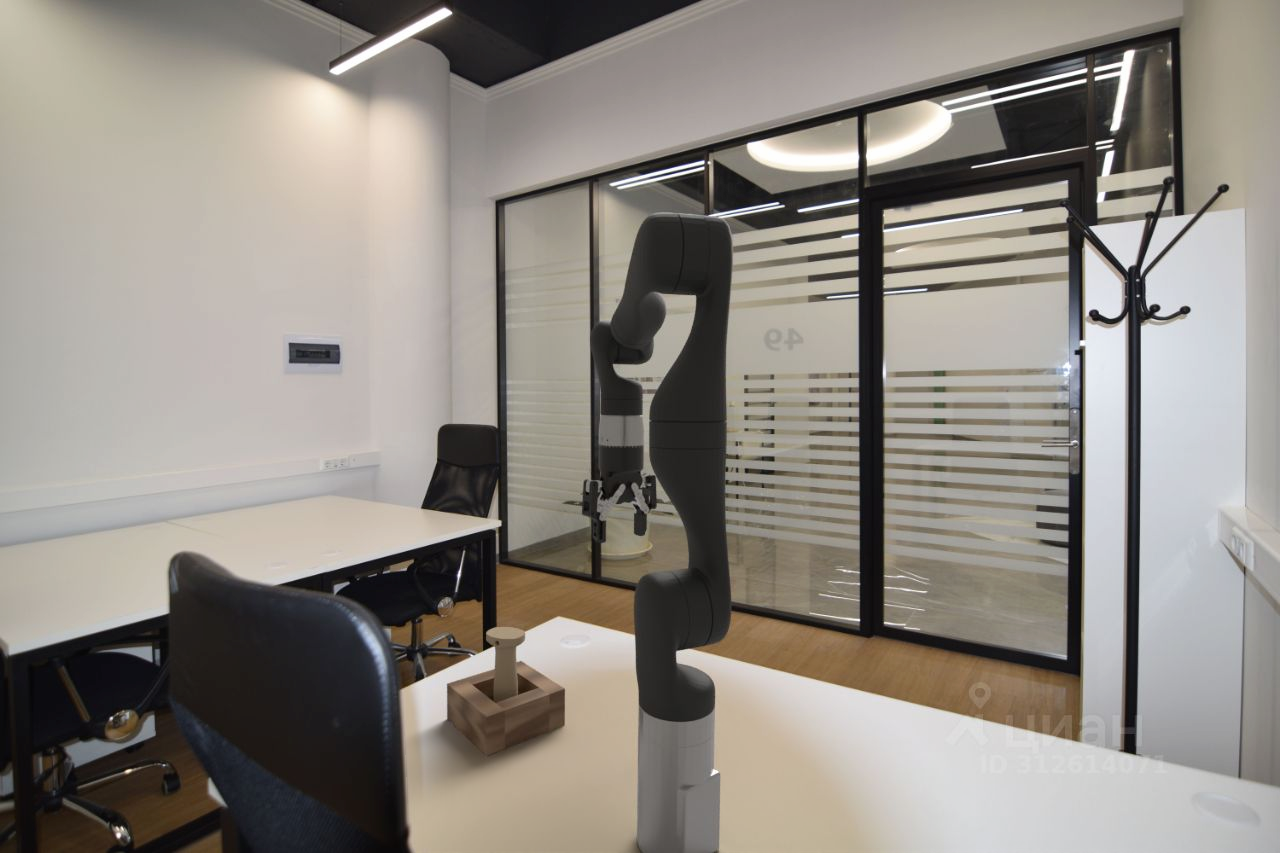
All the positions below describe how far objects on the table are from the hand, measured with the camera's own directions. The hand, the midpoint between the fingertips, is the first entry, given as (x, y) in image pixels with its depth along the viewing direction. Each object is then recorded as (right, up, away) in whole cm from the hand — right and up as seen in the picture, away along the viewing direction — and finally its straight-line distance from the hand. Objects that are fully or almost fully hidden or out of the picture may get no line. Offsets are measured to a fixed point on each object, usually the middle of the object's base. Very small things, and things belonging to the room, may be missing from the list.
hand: (620, 538), depth 105 cm
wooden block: (-19, -30, -1) cm, 36 cm away
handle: (-19, -30, -1) cm, 36 cm away
